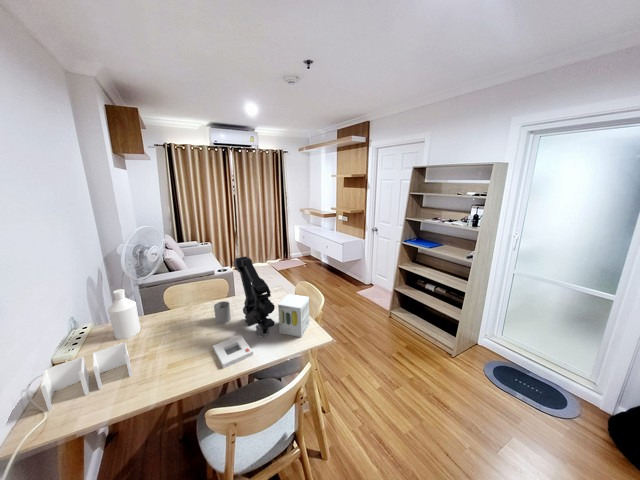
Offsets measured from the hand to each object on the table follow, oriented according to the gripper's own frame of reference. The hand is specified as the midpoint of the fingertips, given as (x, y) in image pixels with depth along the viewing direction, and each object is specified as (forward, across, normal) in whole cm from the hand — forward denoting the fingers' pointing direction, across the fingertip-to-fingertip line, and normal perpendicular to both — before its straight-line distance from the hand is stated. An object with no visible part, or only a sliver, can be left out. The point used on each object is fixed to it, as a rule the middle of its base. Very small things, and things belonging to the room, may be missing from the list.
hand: (262, 331), depth 136 cm
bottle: (+1, -45, -58) cm, 73 cm away
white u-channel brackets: (+2, -11, -70) cm, 71 cm away
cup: (+1, -26, -13) cm, 29 cm away
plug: (+1, 0, 0) cm, 1 cm away
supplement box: (+1, +7, +16) cm, 18 cm away
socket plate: (+1, +5, -18) cm, 19 cm away
